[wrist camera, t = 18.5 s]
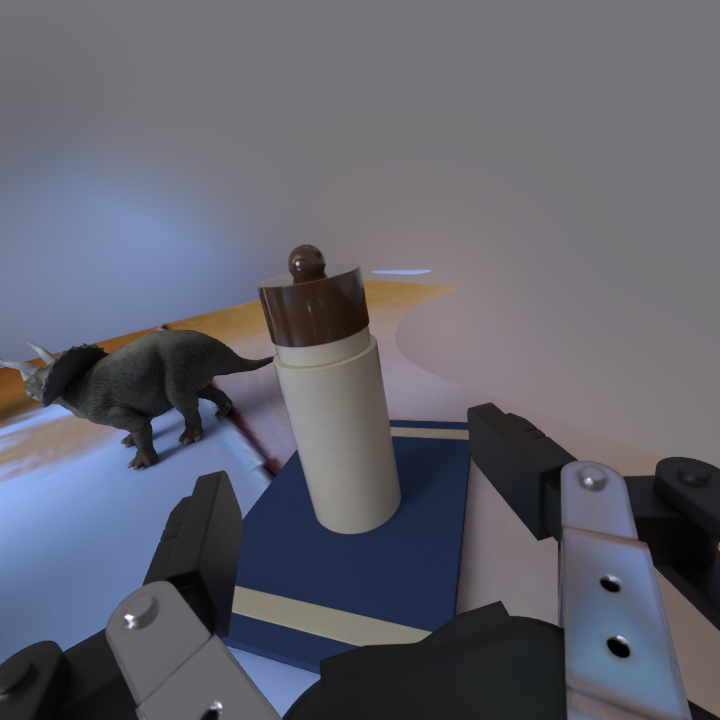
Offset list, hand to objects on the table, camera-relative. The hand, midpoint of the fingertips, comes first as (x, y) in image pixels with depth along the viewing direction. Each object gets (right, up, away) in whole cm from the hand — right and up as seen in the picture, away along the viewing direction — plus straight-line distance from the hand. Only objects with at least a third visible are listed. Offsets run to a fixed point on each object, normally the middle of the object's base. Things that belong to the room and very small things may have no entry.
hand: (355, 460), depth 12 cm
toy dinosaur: (-17, -4, +23) cm, 29 cm away
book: (0, -6, +11) cm, 12 cm away
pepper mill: (0, -5, +11) cm, 12 cm away
